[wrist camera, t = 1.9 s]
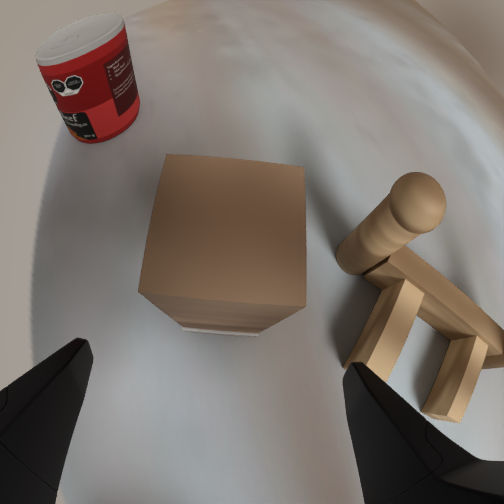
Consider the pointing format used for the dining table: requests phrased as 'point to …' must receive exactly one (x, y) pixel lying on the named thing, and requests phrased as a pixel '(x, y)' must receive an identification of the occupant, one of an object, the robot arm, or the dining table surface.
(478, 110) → the dining table surface
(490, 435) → the dining table surface
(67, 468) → the dining table surface
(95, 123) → the canned food
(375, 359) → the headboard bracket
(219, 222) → the block
